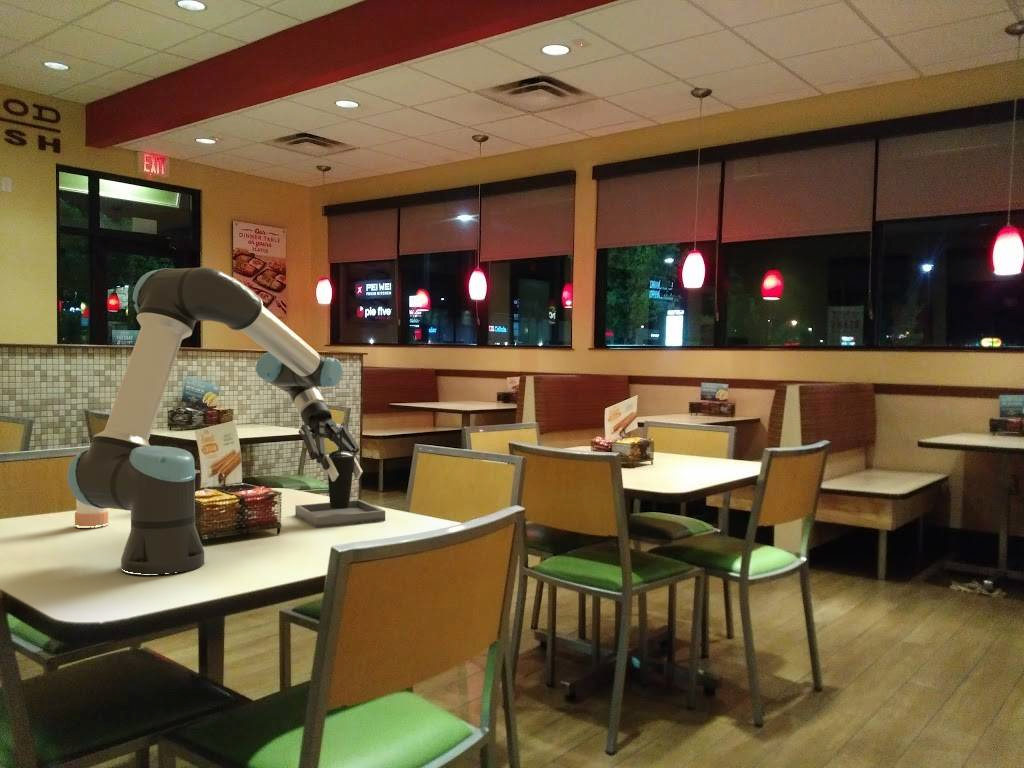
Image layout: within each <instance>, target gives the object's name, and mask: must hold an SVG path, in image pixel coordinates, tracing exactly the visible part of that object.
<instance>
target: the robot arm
mask: <svg viewBox="0 0 1024 768" xmlns="http://www.w3.org/2000/svg"><path fill="white" fill-rule="evenodd" d="M132 301H133V302H134V304H133V307H134V310H135V311H136V313H137V315H136V320H137V322H138V324H139V325H140V329H139V332H138V335H137V338H136V340H135V343H134V346H133V349H132V352H131V354H130V357H129V360H128V363H127V366H126V369H125V372H124V373H123V374H124V375H123V377H122V379H121V382H120V385H119V389H118V392H117V394H116V397H115V400H114V402H113V405H112V408H111V411H110V413H109V417H108V419H107V421H106V425H105V428H104V430H103V431H100V432H98V433H96V434H94V435H93V437H92V440H91V443H90V445H89V449H88V448H87V449H83V450H82V451H80V452H79V453H80V454H79V453H76V455H75V456H74V457H73V458H72V459H71V461H70V463H69V466H68V468H67V477H66V478H67V484H68V488H69V489H70V490H71V494H72V496H73V497H74V498H75V499H77V500H78V501H80V502H81V503H83V504H86V505H89V506H94V507H97V508H101V509H103V508H107V509H113V510H122V511H130V532H129V534H128V538H127V541H126V543H125V547H124V549H123V552H122V556H121V559H120V569H121V568H122V569H123V570H125V571H128V572H133V573H141V574H165V573H175V572H181V573H184V572H183V571H185V572H189V571H193V570H195V569H199V568H200V567H202V566H203V565H204V564H205V549H204V546H203V543H202V541H201V539H200V535H199V532H198V531H197V528H196V527H197V526H196V509H195V477H196V471H195V470H196V468H195V458H194V456H193V454H192V453H191V452H190V451H188V450H186V449H184V448H180V447H174V446H173V447H172V446H162V445H151V444H150V443H149V439H150V437H151V434H152V430H153V427H154V424H155V422H156V418H157V416H158V413H159V410H160V407H161V404H162V400H163V399H164V398H163V397H164V396H165V392H166V389H167V387H168V384H169V380H170V377H171V373H172V371H173V368H174V365H175V362H176V359H177V356H178V353H179V350H180V347H181V344H182V341H183V340H184V339H186V338H189V337H191V336H192V334H193V332H194V328H195V325H196V323H197V322H205V321H208V322H209V321H210V322H216V323H220V324H223V325H225V326H227V328H229V329H231V330H233V331H236V332H237V331H241V332H242V333H243V334H245V336H247V337H248V338H250V339H251V340H252V341H254V342H255V343H256V344H257V345H259V346H260V347H261V348H263V349H264V350H265V351H266V352H265V353H263V354H262V355H260V356H259V358H258V359H257V362H256V365H255V372H256V374H257V376H258V377H259V378H260V379H262V380H263V381H265V383H268V384H271V385H273V386H274V387H276V388H278V389H280V390H282V391H284V392H286V393H287V394H288V395H289V397H290V398H291V400H292V403H293V404H294V406H295V408H296V411H297V412H298V414H299V415H300V418H301V420H302V422H303V424H302V425H301V427H300V428H299V430H298V434H299V436H301V437H302V439H303V443H304V445H305V449H306V450H307V454H308V455H309V458H310V459H311V460H312V461H314V460H315V461H316V463H317V464H320V465H321V466H322V469H323V470H324V471H326V472H327V475H328V474H329V476H330V478H331V480H332V481H335V480H336V478H337V477H338V475H339V474H338V472H337V470H336V468H335V466H334V464H333V462H332V460H331V458H329V455H326V448H325V447H326V446H325V439H328V440H329V441H330V442H333V443H334V444H335V445H336V447H338V448H339V441H340V430H342V450H345V451H348V452H351V453H352V454H355V455H356V457H354V466H353V476H354V477H355V478H356V479H360V477H361V475H362V474H363V469H362V468H361V467H362V466H360V459H359V458H358V456H357V454H358V453H359V451H360V450H361V449H360V446H359V445H358V444H357V442H356V441H355V439H354V438H353V437H354V436H353V435H352V434H351V433H350V431H349V430H348V426H347V423H345V422H344V421H343V422H341V424H340V423H337V422H336V421H335V420H334V419H333V416H332V412H331V410H330V409H329V407H328V405H327V404H326V401H325V399H324V397H323V395H322V394H321V391H320V389H319V388H329V387H336V386H338V385H339V384H340V382H341V380H342V376H343V366H342V364H341V362H340V361H339V360H338V359H337V358H336V357H335V358H334V357H330V356H327V357H324V356H322V355H321V354H320V353H319V352H317V351H316V350H315V349H314V348H313V347H311V345H309V344H308V343H307V342H306V341H304V339H303V338H301V337H300V336H299V335H297V334H296V333H295V332H294V331H293V330H292V328H291V329H290V328H289V327H288V326H287V325H286V324H285V323H284V322H283V321H282V320H280V319H279V318H278V317H277V316H275V314H273V312H271V311H270V310H269V309H267V308H266V306H265V305H263V304H264V303H263V301H262V298H261V297H260V295H258V294H257V293H256V292H255V291H253V290H252V289H251V288H250V287H248V286H247V285H245V284H244V283H243V282H241V281H240V280H238V279H237V278H235V277H233V276H231V275H229V274H227V272H226V273H225V272H223V271H221V270H217V269H216V268H211V267H204V266H203V267H187V268H171V267H170V268H169V267H168V268H167V267H166V268H159V269H156V270H151V271H148V272H147V273H145V274H143V275H142V276H141V277H140V278H139V279H138V281H137V283H136V285H134V289H133V292H132ZM325 455H326V456H325ZM175 574H176V573H175Z"/></svg>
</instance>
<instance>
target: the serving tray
mask: <svg viewBox="0 0 1024 768" xmlns="http://www.w3.org/2000/svg"><path fill="white" fill-rule="evenodd" d="M295 516H297V517H298V518H300V519H301V520H303V521H304V522H306V523H308V524H309V525H311V526H313V527H314V528H315V529H318V528H319V529H320V528H328V527H337V526H347V525H357V524H365V523H375V522H382V521H383V522H384V521H386V510H384V509H382V508H381V507H378V506H376V505H373V504H371V503H369V502H366V501H364V500H362V499H353V500H351V499H350V502H349V507H348V508H344V509H334V508H330V501H329V502H322V503H320V502H319V503H308V504H298V505H297V504H295Z"/></svg>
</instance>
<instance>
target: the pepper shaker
mask: <svg viewBox="0 0 1024 768" xmlns="http://www.w3.org/2000/svg"><path fill="white" fill-rule="evenodd" d="M87 449H89V448H87ZM78 454H80V452H79V453H78ZM75 499H76V498H75ZM75 503H76V506H75V507H76V511H75V513H74V526H75V525H79V526H96V525H103V524H106V523H108V524H109V510H108V508H103V509H101V508H97V507H94V506H89V505H86V504H83V503H81V502H80V501H78V500H77V499H76V502H75Z"/></svg>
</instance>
